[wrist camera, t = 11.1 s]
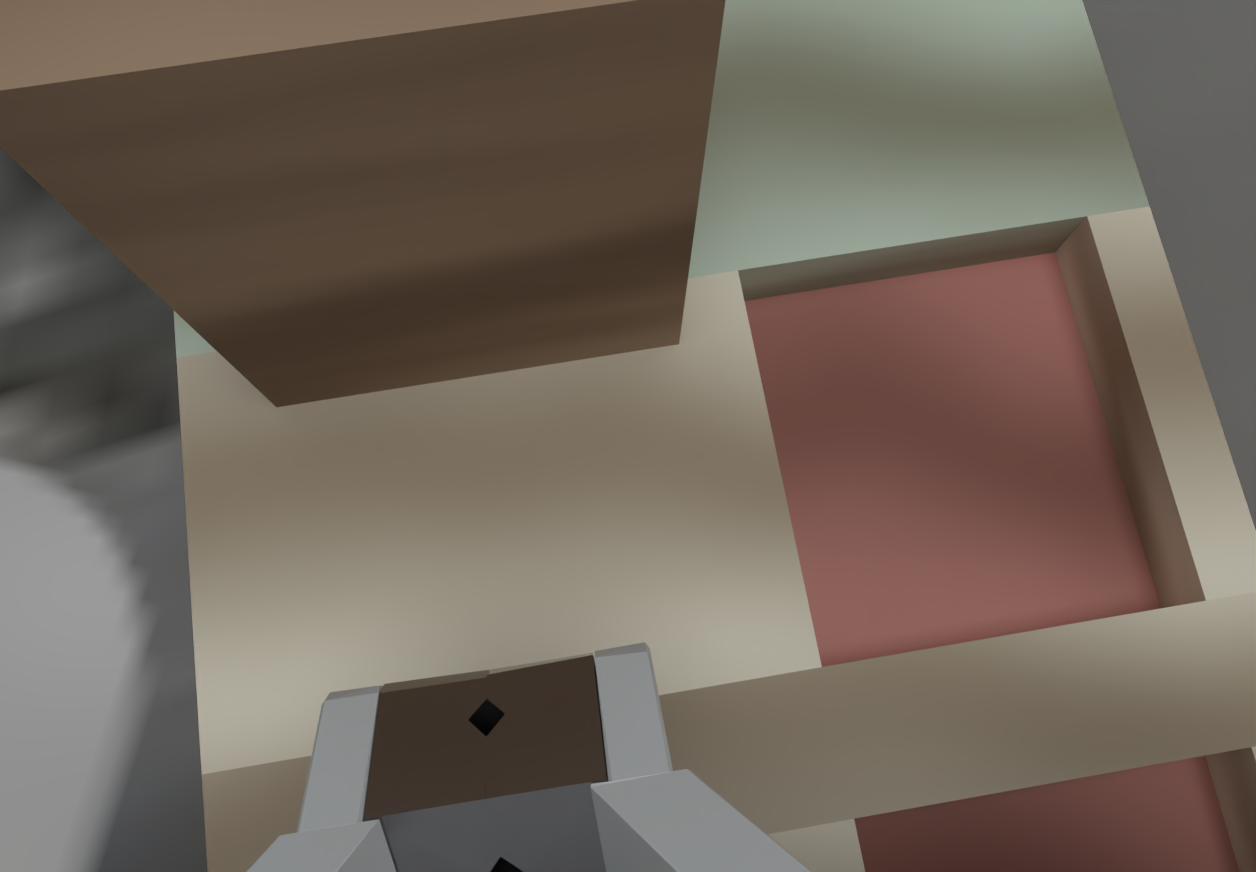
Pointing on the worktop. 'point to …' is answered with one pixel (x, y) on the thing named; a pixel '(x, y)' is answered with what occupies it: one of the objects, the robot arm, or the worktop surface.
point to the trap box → (803, 486)
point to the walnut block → (378, 172)
